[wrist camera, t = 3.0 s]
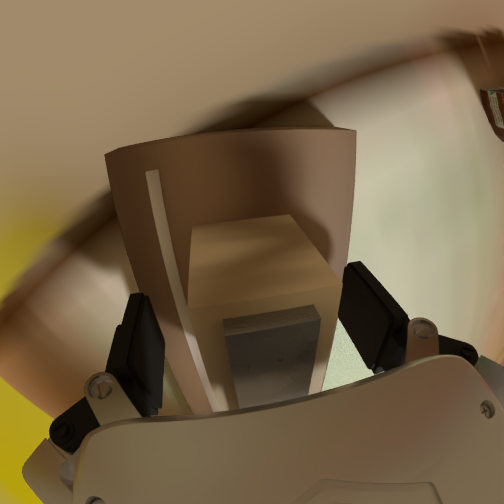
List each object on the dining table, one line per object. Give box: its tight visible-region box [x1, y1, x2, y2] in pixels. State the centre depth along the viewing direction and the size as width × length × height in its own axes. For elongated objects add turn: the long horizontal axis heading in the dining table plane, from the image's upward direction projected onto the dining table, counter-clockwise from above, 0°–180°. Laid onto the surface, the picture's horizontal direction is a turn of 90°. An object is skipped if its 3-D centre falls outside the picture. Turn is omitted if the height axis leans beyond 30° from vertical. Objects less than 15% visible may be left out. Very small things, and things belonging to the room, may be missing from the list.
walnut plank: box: [105, 126, 356, 414], centre depth 17 cm, size 10×30×3 cm, turn 4°
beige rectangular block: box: [188, 214, 343, 411], centre depth 10 cm, size 4×7×6 cm, turn 4°
